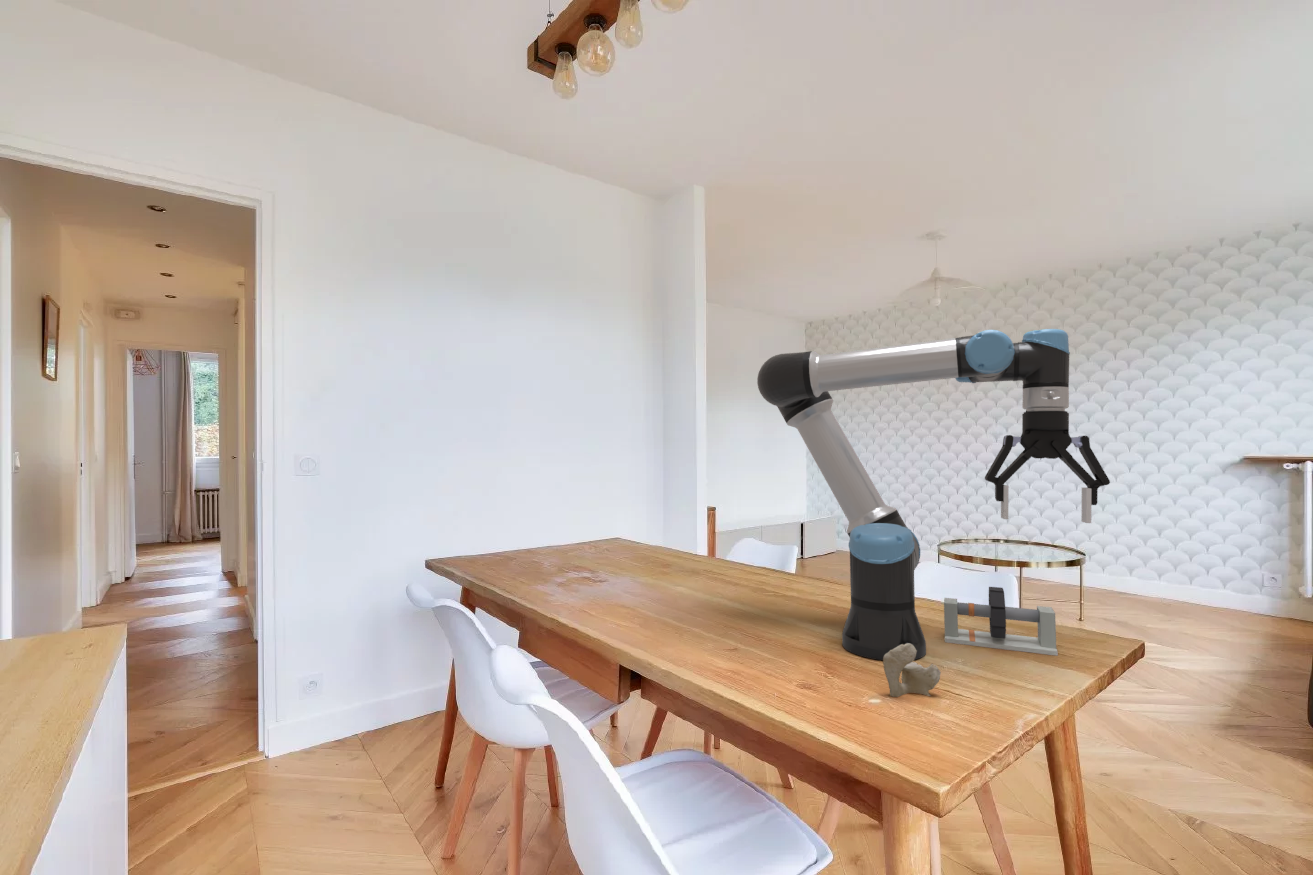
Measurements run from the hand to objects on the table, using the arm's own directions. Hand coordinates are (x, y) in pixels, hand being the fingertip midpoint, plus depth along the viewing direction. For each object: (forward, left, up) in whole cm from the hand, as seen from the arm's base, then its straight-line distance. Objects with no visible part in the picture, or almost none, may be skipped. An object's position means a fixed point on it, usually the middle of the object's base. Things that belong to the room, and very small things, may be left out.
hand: (1044, 520), depth 114 cm
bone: (-22, -33, -25) cm, 47 cm away
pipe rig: (-8, 0, -24) cm, 26 cm away
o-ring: (-8, 0, -23) cm, 25 cm away
